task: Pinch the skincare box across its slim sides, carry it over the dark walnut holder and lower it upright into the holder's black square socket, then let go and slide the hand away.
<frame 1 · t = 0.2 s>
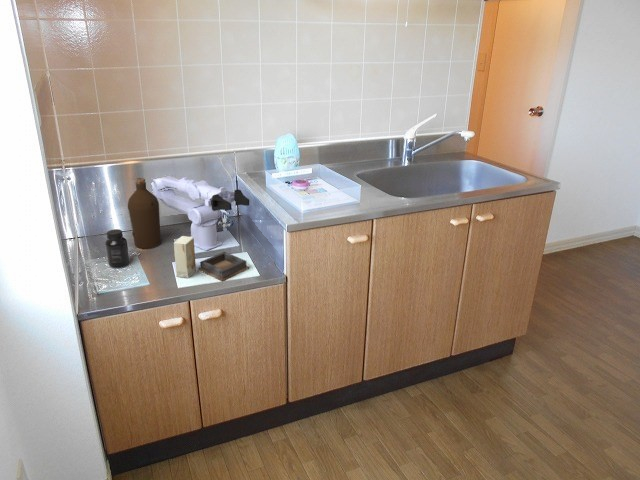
hand: (239, 204, 165), 21 cm above the countertop, tool horizontal, fingers open, 7 cm apart
skincare box: (186, 273, 165), on the countertop
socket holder: (223, 269, 168), on the countertop
supplement bottle: (119, 264, 169), on the countertop
olive oil: (148, 244, 184), on the countertop
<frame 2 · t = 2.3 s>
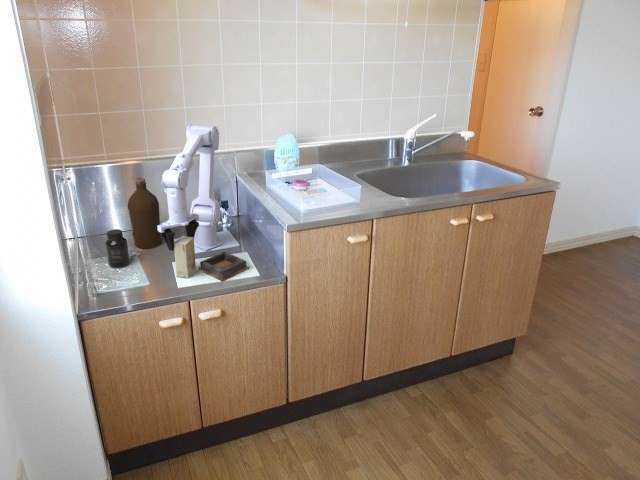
hand: (180, 246, 162), 9 cm above the countertop, tool pointing down, fingers open, 7 cm apart
skincare box: (186, 273, 165), on the countertop, touching gripper
everything else where it was.
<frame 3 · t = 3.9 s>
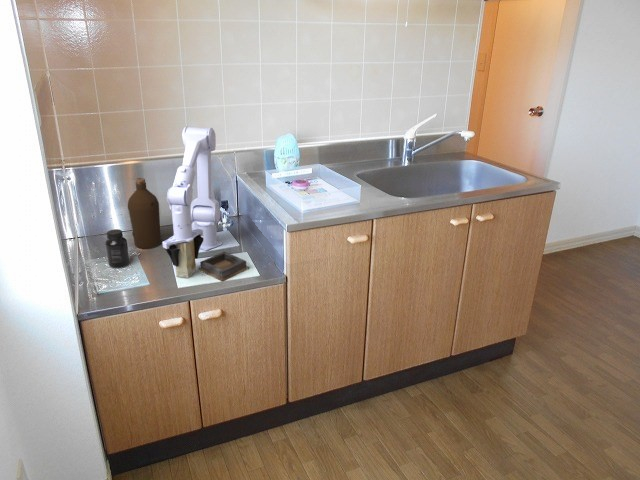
hand: (185, 261, 163), 4 cm above the countertop, tool pointing down, fingers closed on skincare box, 7 cm apart
skincare box: (186, 273, 165), on the countertop, touching gripper
everything else where it was.
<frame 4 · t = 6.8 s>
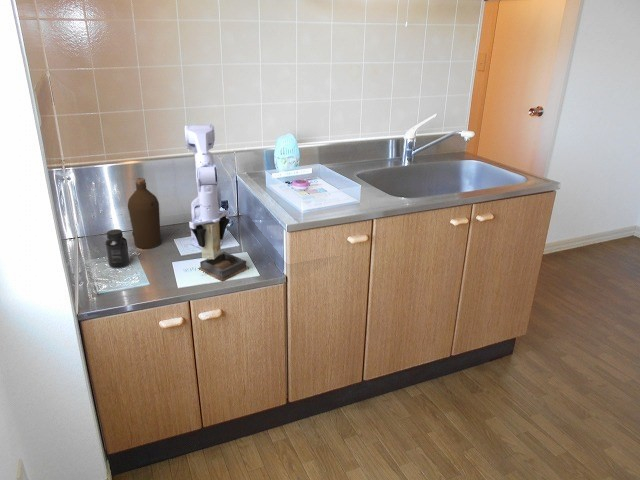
hand: (211, 242, 163), 10 cm above the countertop, tool pointing down, fingers closed on skincare box, 7 cm apart
skincare box: (211, 255, 165), point 5 cm above the countertop, touching gripper
everything else where it was.
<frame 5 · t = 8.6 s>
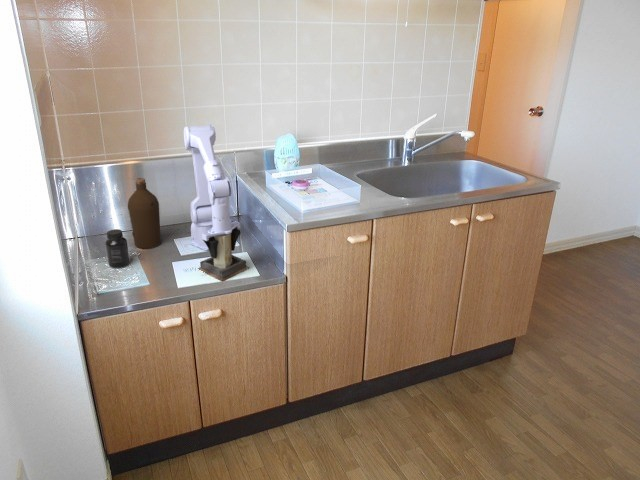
hand: (222, 253, 166), 6 cm above the countertop, tool pointing down, fingers closed on skincare box, 7 cm apart
skincare box: (223, 266, 168), point 1 cm above the countertop, touching gripper
everything else where it was.
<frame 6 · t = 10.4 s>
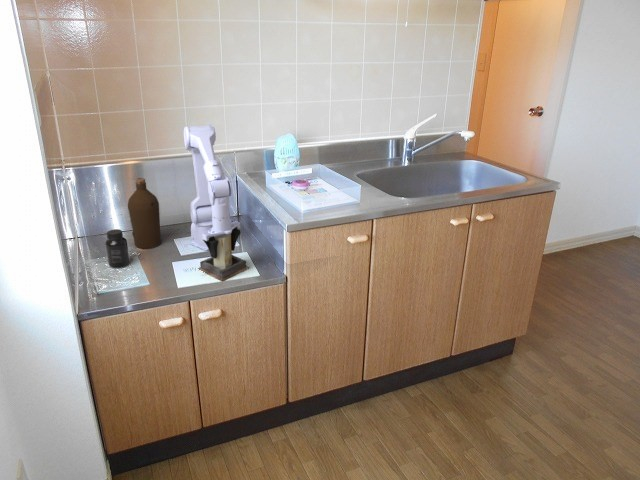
hand: (222, 253, 166), 6 cm above the countertop, tool pointing down, fingers closed on skincare box, 7 cm apart
skincare box: (223, 268, 168), resting on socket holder, touching gripper
everything else where it was.
when the fingers open (7 cm above the countertop, at t = 10.6 s): skincare box stays where it is, resting on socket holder.
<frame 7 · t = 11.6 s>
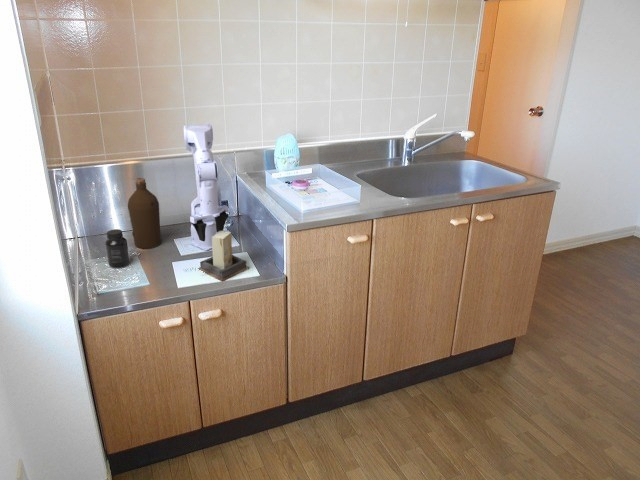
hand: (211, 236, 167), 10 cm above the countertop, tool pointing down, fingers open, 7 cm apart
skincare box: (223, 267, 168), resting on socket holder
everything else where it was.
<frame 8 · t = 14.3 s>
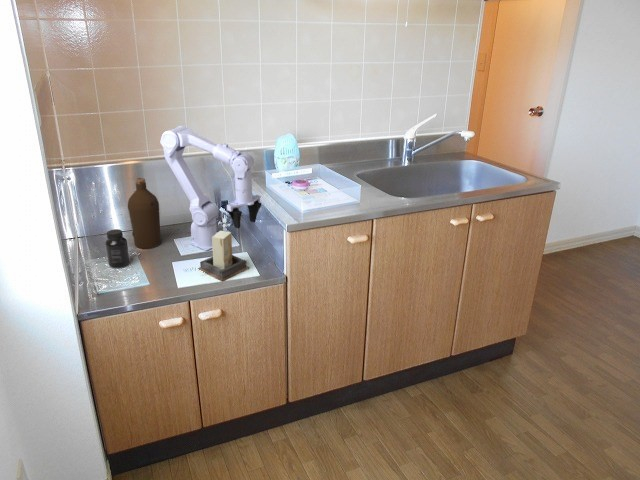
hand: (245, 224, 177), 10 cm above the countertop, tool pointing down, fingers open, 7 cm apart
nothing on the countertop moved.
at the end: skincare box 0.2 cm off-centre on the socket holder, point 0.4 cm above the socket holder's base; skincare box tilted 0°; the gripper is holding nothing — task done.
